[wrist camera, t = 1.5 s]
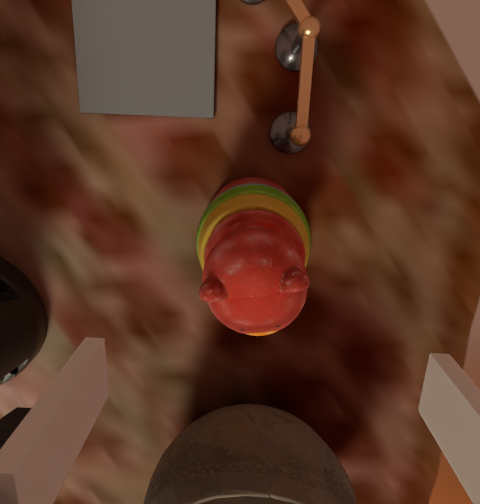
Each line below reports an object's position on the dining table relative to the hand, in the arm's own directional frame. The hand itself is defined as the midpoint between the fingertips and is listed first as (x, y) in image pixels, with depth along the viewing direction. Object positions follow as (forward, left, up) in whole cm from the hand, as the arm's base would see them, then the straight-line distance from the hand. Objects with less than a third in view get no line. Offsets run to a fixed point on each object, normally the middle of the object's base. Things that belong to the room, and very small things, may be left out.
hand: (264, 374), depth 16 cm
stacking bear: (0, 0, -25) cm, 25 cm away
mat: (-10, +16, -25) cm, 31 cm away
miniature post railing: (+1, +15, -25) cm, 29 cm away
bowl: (+1, -27, -25) cm, 37 cm away
